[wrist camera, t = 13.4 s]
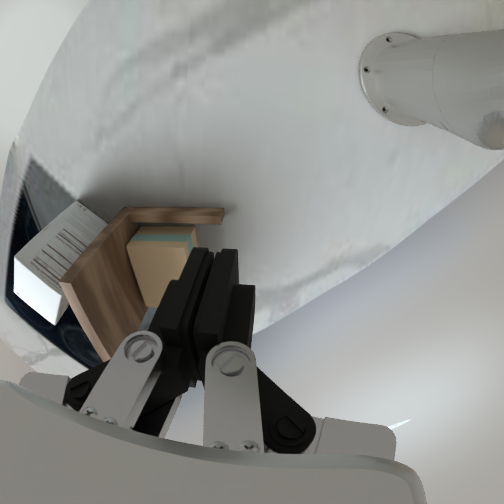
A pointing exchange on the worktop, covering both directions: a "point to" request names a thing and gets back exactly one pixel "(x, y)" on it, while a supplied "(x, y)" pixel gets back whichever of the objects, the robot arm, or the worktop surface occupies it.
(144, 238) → the carton
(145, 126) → the worktop surface
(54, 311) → the supplement box
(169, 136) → the worktop surface
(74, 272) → the display stand
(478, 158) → the worktop surface
